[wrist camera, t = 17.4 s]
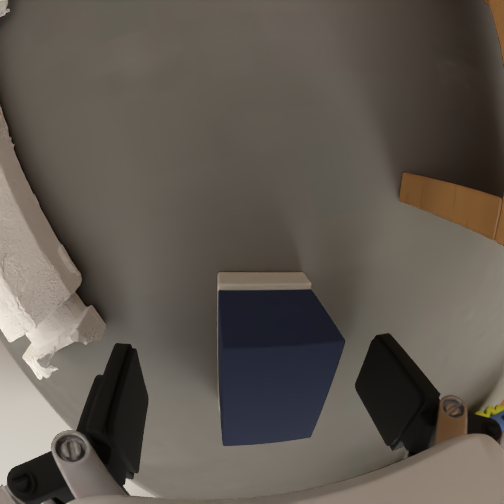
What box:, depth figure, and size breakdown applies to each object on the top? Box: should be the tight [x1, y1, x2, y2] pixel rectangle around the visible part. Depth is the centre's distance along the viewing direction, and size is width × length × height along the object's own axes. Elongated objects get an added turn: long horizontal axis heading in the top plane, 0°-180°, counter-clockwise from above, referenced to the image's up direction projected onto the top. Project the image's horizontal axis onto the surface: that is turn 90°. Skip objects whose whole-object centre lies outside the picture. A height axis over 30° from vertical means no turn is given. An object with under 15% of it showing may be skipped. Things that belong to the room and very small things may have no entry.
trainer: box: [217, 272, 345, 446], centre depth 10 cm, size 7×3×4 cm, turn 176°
